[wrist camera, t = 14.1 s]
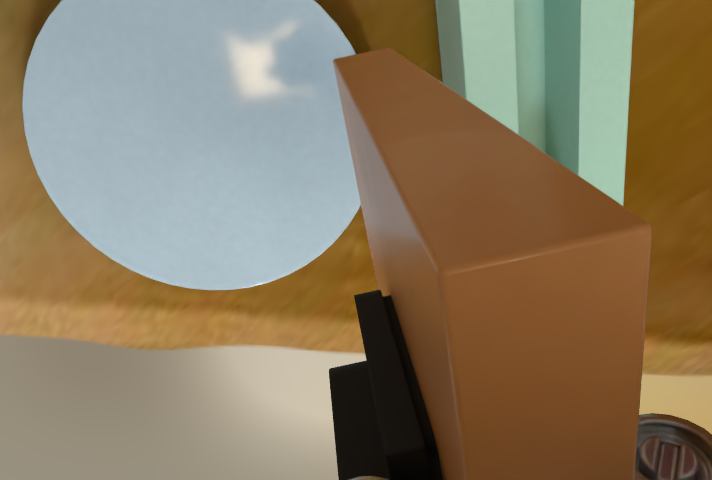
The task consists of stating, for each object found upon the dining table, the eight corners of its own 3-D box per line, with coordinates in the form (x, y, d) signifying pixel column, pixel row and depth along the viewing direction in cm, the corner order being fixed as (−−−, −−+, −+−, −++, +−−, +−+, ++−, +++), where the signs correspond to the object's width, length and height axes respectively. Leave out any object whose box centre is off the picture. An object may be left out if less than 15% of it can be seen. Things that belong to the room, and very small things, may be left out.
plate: (108, 305, 33) (102, 316, 32) (-34, -12, 25) (-48, -12, 24) (394, 249, 33) (397, 257, 32) (342, -83, 25) (345, -86, 24)
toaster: (458, 243, 34) (480, 278, 30) (428, -63, 26) (452, -72, 22) (582, 218, 34) (620, 250, 30) (588, -93, 26) (640, -107, 22)
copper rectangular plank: (392, 366, 18) (514, 840, 8) (332, 59, 13) (437, 271, 4) (437, 356, 18) (612, 818, 8) (391, 46, 13) (655, 223, 4)
